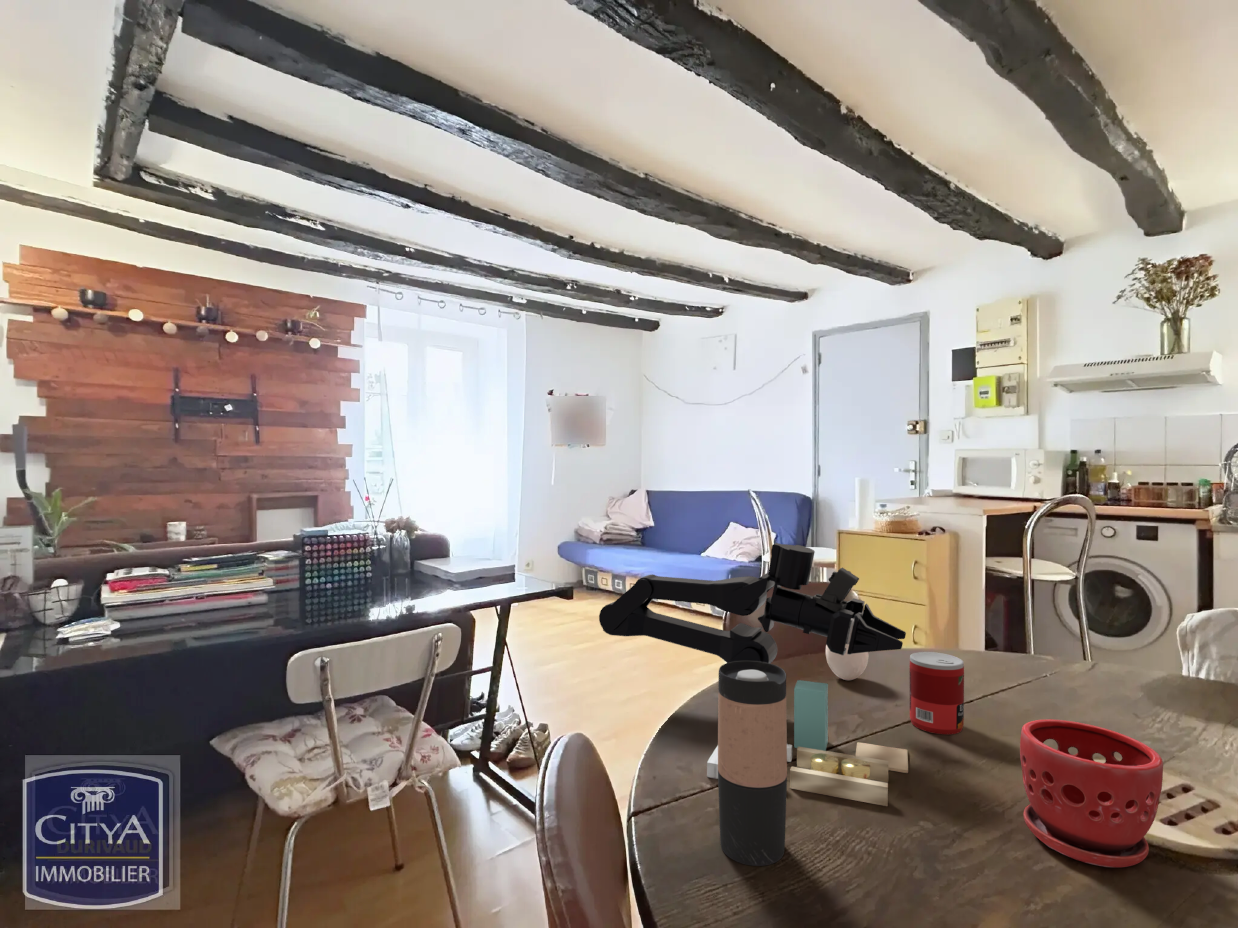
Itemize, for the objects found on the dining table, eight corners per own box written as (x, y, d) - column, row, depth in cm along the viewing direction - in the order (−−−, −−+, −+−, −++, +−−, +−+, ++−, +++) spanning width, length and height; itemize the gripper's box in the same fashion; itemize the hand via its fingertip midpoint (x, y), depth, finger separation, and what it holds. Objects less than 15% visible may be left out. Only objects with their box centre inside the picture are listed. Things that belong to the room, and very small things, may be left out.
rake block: (794, 747, 101) (794, 688, 100) (797, 736, 104) (797, 679, 104) (825, 752, 99) (825, 692, 99) (827, 741, 103) (827, 683, 102)
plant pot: (1114, 894, 67) (1115, 775, 67) (994, 827, 79) (994, 726, 79) (1189, 862, 72) (1189, 752, 72) (1065, 804, 84) (1066, 709, 84)
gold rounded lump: (809, 784, 89) (809, 762, 89) (812, 772, 93) (812, 751, 93) (837, 789, 88) (837, 767, 88) (839, 777, 91) (839, 755, 91)
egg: (838, 670, 136) (838, 614, 136) (875, 679, 131) (876, 621, 130) (817, 678, 131) (817, 621, 131) (855, 689, 125) (855, 628, 125)
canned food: (970, 737, 104) (970, 667, 104) (915, 733, 106) (915, 664, 105) (955, 718, 111) (955, 652, 111) (904, 714, 113) (905, 650, 113)
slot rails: (790, 788, 88) (790, 770, 88) (798, 762, 95) (798, 746, 95) (887, 806, 84) (887, 787, 84) (888, 778, 91) (888, 760, 91)
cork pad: (854, 764, 95) (854, 761, 95) (857, 744, 101) (857, 741, 101) (908, 773, 92) (908, 770, 92) (907, 752, 99) (907, 749, 99)
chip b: (840, 790, 88) (840, 767, 88) (842, 778, 91) (842, 756, 91) (869, 795, 86) (869, 772, 86) (870, 782, 90) (870, 760, 90)
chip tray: (707, 776, 91) (707, 762, 91) (724, 747, 101) (724, 733, 101) (781, 790, 88) (781, 775, 88) (792, 758, 97) (792, 744, 97)
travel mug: (711, 829, 79) (710, 660, 78) (774, 826, 79) (774, 659, 79) (727, 869, 71) (727, 683, 71) (797, 865, 72) (797, 680, 71)
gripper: (802, 567, 101) (912, 595, 94) (822, 560, 118) (917, 584, 111) (787, 638, 101) (895, 672, 95) (809, 621, 118) (903, 648, 111)
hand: (903, 640), depth 103 cm, fingers open, 9 cm apart
